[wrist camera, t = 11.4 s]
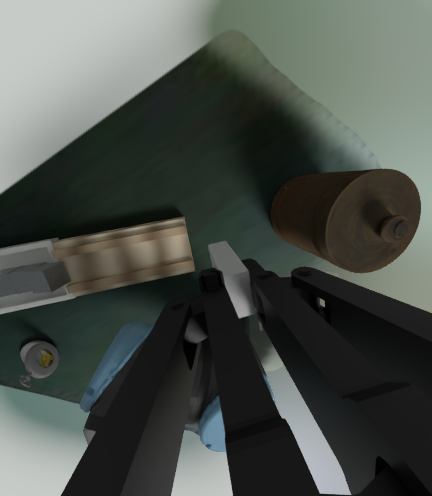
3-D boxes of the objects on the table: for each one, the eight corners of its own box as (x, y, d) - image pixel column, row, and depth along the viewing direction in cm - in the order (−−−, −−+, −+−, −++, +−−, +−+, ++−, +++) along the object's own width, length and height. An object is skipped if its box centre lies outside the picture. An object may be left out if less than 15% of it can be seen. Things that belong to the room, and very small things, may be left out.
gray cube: (63, 261, 38) (42, 271, 34) (71, 281, 39) (51, 292, 35) (45, 263, 39) (23, 272, 35) (54, 282, 40) (33, 293, 36)
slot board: (183, 216, 42) (183, 219, 38) (194, 265, 45) (195, 272, 41) (60, 239, 40) (47, 244, 36) (81, 289, 43) (71, 299, 39)
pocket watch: (19, 357, 45) (-26, 403, 36) (33, 328, 44) (-9, 366, 34) (58, 369, 47) (26, 415, 38) (72, 341, 46) (43, 381, 36)
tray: (58, 237, 39) (49, 240, 37) (80, 292, 43) (74, 298, 41) (-33, 254, 38) (-47, 258, 36) (-2, 309, 42) (-13, 316, 39)
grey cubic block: (7, 273, 36) (-18, 278, 35) (17, 293, 37) (-7, 298, 37) (24, 265, 40) (1, 269, 39) (32, 283, 41) (11, 288, 40)
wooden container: (328, 241, 48) (438, 280, 28) (268, 245, 46) (337, 291, 26) (337, 174, 44) (474, 161, 23) (271, 175, 42) (356, 163, 21)
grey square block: (46, 261, 40) (31, 269, 36) (54, 280, 41) (41, 289, 37) (24, 265, 40) (7, 273, 36) (33, 284, 41) (17, 294, 37)
